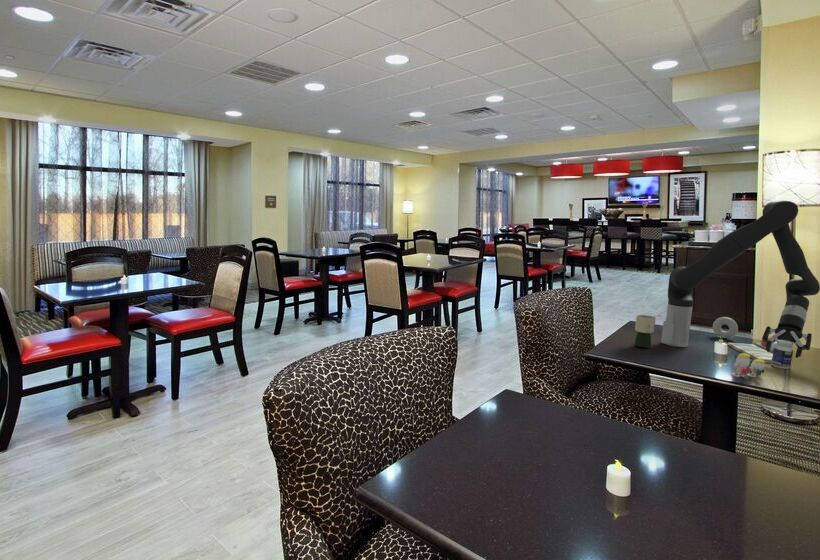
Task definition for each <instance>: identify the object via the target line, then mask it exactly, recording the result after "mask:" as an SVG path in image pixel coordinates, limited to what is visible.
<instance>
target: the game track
mask: <svg viewBox="0 0 820 560" xmlns="http://www.w3.org/2000/svg"><path fill="white" fill-rule="evenodd" d="M728 345H729V346H728ZM727 346H728V347H730V348H732V349H733V350H735V351H738V352H739V353H740V354H741V353H745V354H748V355H750V357H749V358H751V359H752V360H756V359H759V360H763V361H764V362H765V363H764V364H771V362H772V357H773V354H772V353H770V352H767V351H766V350H764V349H761V348H759V347H757V346H755V345H754V343H753V344H751V343H742V342H741V343H740V342H739V343H738V342H727Z"/></svg>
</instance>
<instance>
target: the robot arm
mask: <svg viewBox="0 0 820 560" xmlns="http://www.w3.org/2000/svg"><path fill="white" fill-rule="evenodd" d="M761 212H762V215H761V216H760V217H759V218H757V219H755V220H754V221H752V222H750V223H748V224H746V225H744V226H741V227H739V228H737V229H735V230H733V231H731V232H730V233H728V234H726V235H725V236H723V237H722V238H720V239H719V240H718V241H716V242H715V243H714V244H712V246H711V247H710V248H709V249H708V250H707V251H706V253H704V255H703V256H702V257H701V258H700V259H698V260H696V261H695V262H694V263H692V264H690V265H689V266H678V267H675V268H673V270H671V272H670V275H669V279H668V287H667V299H668V300H667V308H666V316H665V320H664V321H663V323H662V332H661V340H660V343H661V344H665V345H667V346H670V347H676V348H686V347H687V348H688V344H689V336H690V328H691V322H692V321H691V320H692V313H693V306H694V299H693V290H694V289H695V288H696V287H697V286H698V285H699V284H701V283H702V282H703V281H705V279H707V278H708V277H709V276H710V275H711V274H713V273H714V272H716V271H717V270H719V269H720V268H722V267H724V266H726V265H727V264H728V263H730V262H732V261H733V260H735V259H737V257H739V256H741V255H742V254H744V253H745V252H746V251H747V250H749V249H750V248H752V247H753V246H755V245H756V244H758V243H759V242H760V241H762V240H763V239H764V238H766V237H767V236H769V235H770V234H772V237H773V239H774V241H775V243H776V246H777V248H778V250H779V254H780V257H781V260H782V264H783V267H784V270H785V272H786V274H788V275H791V276H792V275H793V276H798V277H800V278H794V279H789V280H788V281H787V282H786V284H785V288H784V289H785V295H786V300H785V301H786V302H785V305H784V308H783V310H782V312H781V315H780V318H779V321H778V324H777V327H776V328H771V326H766V328H765V330H764V333H763V335H762V337H763V342H767V344H766V350H767V352H770V349H771V346H772V343H774V342H777V340H786V341H790V342H793V344H794V345H795V347H796V348H797V349H796V352H795V356H794V357H795V358H796V359H798V358H800V357H801V356H802V354H803V351H804V350H806V351H810V349H811V345H812V338H813V337H812V335H813V334H812V333H809V332H808V333H807V334H806V333H803V330H804V326H805V323H806V320H807V314H808V313H807V312H808V310H809V305H810V300H809V299H808V297H809V296H816V295H817V294H819V292H820V282H819V280H818V279H817V278H816V276H815V274H814V273H813V272H812V271H811V269H810V268H809V266H808V263H807V260H806V257H805V254H804V251H803V249H802V247H801V246H800V244H799V242H798V241H797V239H796V238H795V236H794V234H793V232H792V230H791V227H790V223H791V222H793V221H794V220H795V219H796V218H797V216H798V213H799V207H798V205H797V204H796V203H795V202H793V201H791V200H773V201H770V202H768V203H766V204H765V205H764V207H763V208H762V211H761ZM773 333H774V334H773ZM771 334H773V335H772V336H770V335H771ZM768 337H770V338H768ZM802 338H804V340H805V344H804V343H802V341H801V339H802Z"/></svg>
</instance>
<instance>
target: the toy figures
mask: <svg viewBox="0 0 820 560" xmlns="http://www.w3.org/2000/svg"><path fill="white" fill-rule="evenodd" d="M750 358H751V357H750V355H748V354H745V353H741V352H740V353H739V354H736V355H734V359H735V362H734V363H733V368H734V371H735V372H732V373H730V376H731V377H736V378H740V377H741V378H744V377H745V375H746V376H748V377H753V378H756V377H757V378H758V377H759V378H760V376H761V375H762V374H764V372H765V371H764V369H765V366H766V365H765V364H766V363H765V362H764V361H763V360H759V359H756V360H755V359H752V360H751V359H750ZM750 364H751V366H749V365H750ZM748 366H749V367H748ZM748 372H749V373H748Z"/></svg>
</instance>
